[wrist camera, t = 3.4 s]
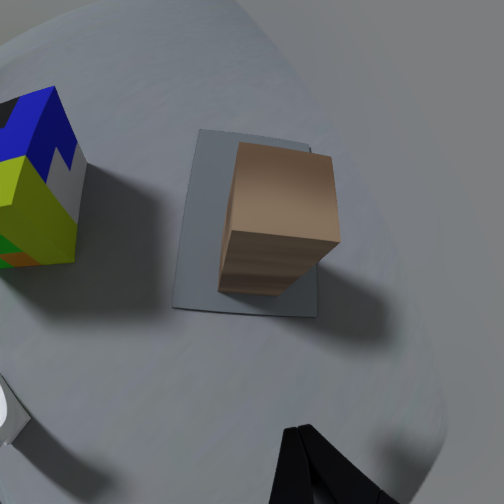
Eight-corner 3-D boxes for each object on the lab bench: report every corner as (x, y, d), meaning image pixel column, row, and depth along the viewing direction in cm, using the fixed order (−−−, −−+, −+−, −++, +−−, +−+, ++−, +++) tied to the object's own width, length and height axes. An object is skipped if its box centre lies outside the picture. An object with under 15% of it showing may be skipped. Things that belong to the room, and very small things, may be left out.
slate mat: (316, 317, 22) (317, 316, 22) (172, 307, 21) (171, 306, 20) (307, 146, 28) (308, 144, 28) (199, 131, 27) (199, 129, 26)
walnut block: (277, 296, 22) (340, 242, 12) (217, 291, 21) (231, 229, 11) (278, 241, 24) (331, 156, 13) (221, 235, 23) (239, 141, 13)
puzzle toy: (87, 163, 24) (54, 85, 14) (74, 262, 21) (11, 204, 11) (10, 178, 22) (-34, 118, 12) (-9, 269, 19) (-76, 226, 9)
